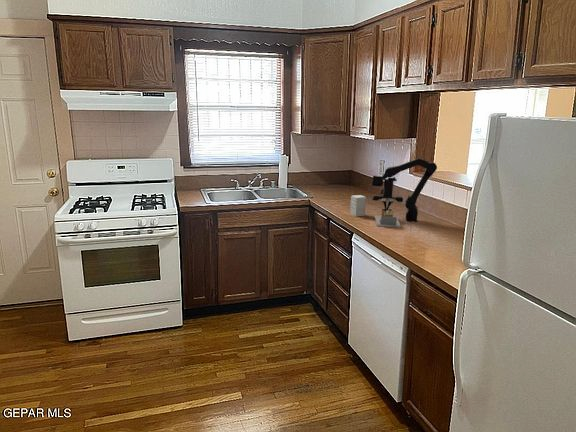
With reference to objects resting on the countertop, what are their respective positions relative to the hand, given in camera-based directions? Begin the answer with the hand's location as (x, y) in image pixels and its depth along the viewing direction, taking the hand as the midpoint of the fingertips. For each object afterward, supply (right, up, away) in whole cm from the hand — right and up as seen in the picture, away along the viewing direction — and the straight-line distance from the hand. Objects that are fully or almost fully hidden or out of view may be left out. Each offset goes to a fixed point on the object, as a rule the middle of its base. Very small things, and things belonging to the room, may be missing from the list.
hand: (386, 211), depth 284 cm
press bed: (-2, -7, -9) cm, 11 cm away
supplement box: (-17, -2, +8) cm, 19 cm away
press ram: (-1, -4, -4) cm, 6 cm away
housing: (-2, -7, -14) cm, 16 cm away
